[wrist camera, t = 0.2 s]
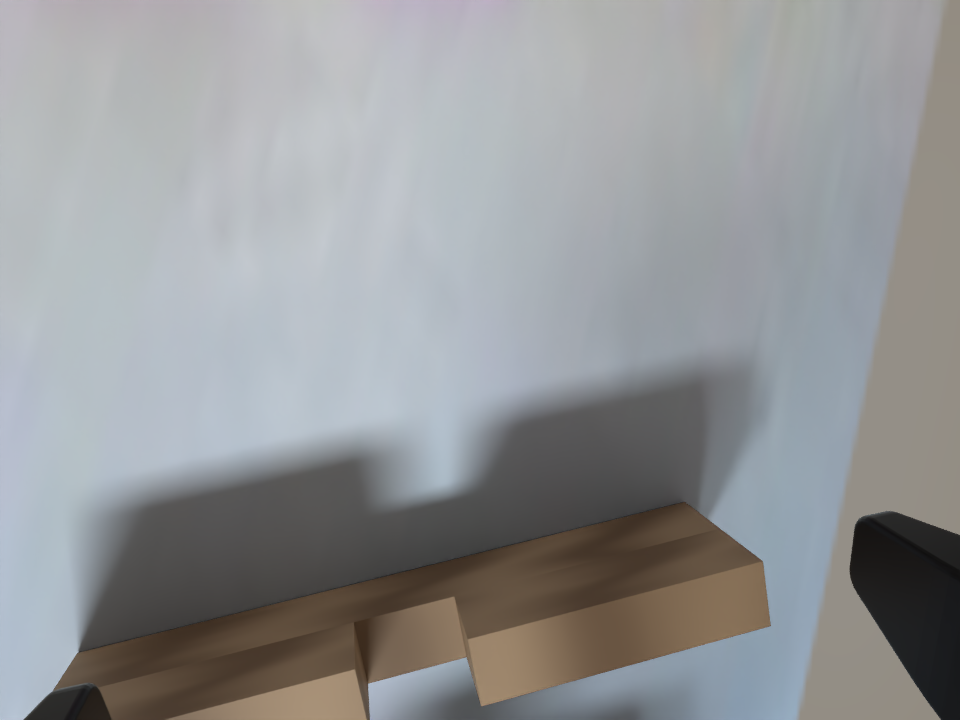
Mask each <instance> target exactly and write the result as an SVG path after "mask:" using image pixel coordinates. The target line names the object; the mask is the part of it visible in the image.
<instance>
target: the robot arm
mask: <svg viewBox="0 0 960 720" xmlns="http://www.w3.org/2000/svg"><path fill="white" fill-rule="evenodd" d="M850 577H851V581H852V584H853V586H854V588H855V590H856V592H857V594H858V595H859V597H860V598H861V600H862V601H863V603H864V604H865V606H866V608H867V609H868V611H869V612H870V614H871V615H872V617H873V619H874V620H875V622H876V623H877V625H878V626H879V628H880V630H881V631H882V633H883V634H884V636H885V637H886V639H887V640H888V642H889V644H890V645H891V647H892V648H893V650H894V651H895V653H896V655H897V656H898V658H899V659H900V661H901V662H902V664H903V665H904V667H905V669H906V670H907V672H908V673H909V675H910V676H911V678H912V679H913V681H914V683H915V684H916V685H917V687H918V688H919V690H920V691H921V693H922V694H923V696H924V697H925V698H926V700H927V701H928V703H929V704H930V705H931V707H932V708H933V709H934V711H935V712H936V713H937V715H938V716H939V718H940V719H941V720H960V535H958V534H955V533H952V532H950V531H947V530H944V529H941V528H938V527H936V526H933V525H930V524H927V523H925V522H922V521H919V520H916V519H913V518H911V517H908V516H905V515H902V514H900V513H897V512H892V511H886V512H881V513H876V514H871V515H867V516H863V517H861V518H860V519H859V520H858V521H857V523H856V524H855V529H854V537H853V546H852V554H851V562H850ZM24 720H112V718H111V716H110V713H109V711H108V708H107V706H106V704H105V701H104V699H103V696H102V694H101V692H100V690H99V688H98V687H97V686H96V685H95V684H93V683H83V684H79V685H74V686H69V687H65V688H60V689H57V690H55V691H53V692H51V693H50V694H49V695H47V696H46V697H45V698H44V699H43V700H42V701H41V702H40V703H39V704H38V705H37V706H36V707H35V709H34V710H33V711H32V712H31V713H30V714H29V715H28V716H27V717H26V718H25V719H24Z"/></svg>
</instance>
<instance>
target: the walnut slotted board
mask: <svg viewBox="0 0 960 720" xmlns="http://www.w3.org/2000/svg"><path fill="white" fill-rule="evenodd" d="M769 626H771V625H770V617H769V608H768V600H767V592H766V583H765V575H764V567H763V561H762V560H760V559H759V558H758V557H756V556H755V555H754V554H753V553H751V552H750V551H749V550H747V549H746V548H745V547H743V546H742V545H741V544H739V543H738V542H737V541H735V540H734V539H733V538H732V537H730V536H729V535H728V534H726V533H725V532H724V531H722V530H721V529H720V528H718V527H717V526H716V525H714V524H713V523H712V522H711V521H709V520H708V519H707V518H705V517H704V516H703V515H701V514H700V513H699V512H697V511H696V510H695V509H693V508H692V507H691V506H690V505H688V504H687V503H686V502H682V503H678V504H674V505H670V506H666V507H662V508H658V509H654V510H650V511H646V512H642V513H638V514H634V515H630V516H626V517H622V518H618V519H614V520H610V521H606V522H602V523H598V524H594V525H590V526H586V527H582V528H578V529H574V530H570V531H566V532H562V533H558V534H554V535H550V536H546V537H542V538H538V539H534V540H530V541H526V542H522V543H518V544H514V545H510V546H506V547H502V548H498V549H494V550H490V551H485V552H481V553H477V554H473V555H469V556H465V557H461V558H457V559H453V560H449V561H445V562H441V563H437V564H433V565H429V566H425V567H421V568H417V569H413V570H409V571H405V572H401V573H397V574H393V575H389V576H385V577H381V578H377V579H373V580H369V581H365V582H361V583H357V584H353V585H349V586H345V587H341V588H337V589H333V590H329V591H325V592H321V593H317V594H313V595H309V596H305V597H301V598H297V599H293V600H288V601H284V602H280V603H276V604H272V605H268V606H264V607H260V608H256V609H252V610H248V611H244V612H240V613H236V614H232V615H228V616H224V617H220V618H216V619H212V620H208V621H204V622H200V623H196V624H192V625H188V626H184V627H180V628H176V629H172V630H168V631H164V632H160V633H156V634H152V635H148V636H144V637H140V638H136V639H132V640H128V641H124V642H120V643H116V644H112V645H108V646H104V647H100V648H96V649H91V650H87V651H83V652H79V653H77V655H76V656H75V658H74V659H73V661H72V662H71V664H70V665H69V667H68V668H67V670H66V671H65V673H64V675H63V676H62V678H61V679H60V681H59V682H58V684H57V685H56V687H55V688H54V690H53V691H55V690H57V689H60V688H65V687H69V686H74V685H79V684H83V683H93V684H95V685H96V686H97V687H98V688H99V690H100V692H101V694H102V696H103V699H104V701H105V704H106V706H107V708H108V711H109V713H110V716H111V718H112V720H370V714H369V696H368V683H372V682H376V681H379V680H383V679H387V678H391V677H394V676H398V675H402V674H405V673H409V672H413V671H417V670H420V669H424V668H428V667H432V666H435V665H439V664H443V663H446V662H450V661H454V660H458V659H461V658H465V657H467V660H468V664H469V667H470V670H471V674H472V677H473V680H474V684H475V687H476V691H477V694H478V697H479V701H480V704H481V706H485V705H489V704H492V703H496V702H499V701H503V700H507V699H510V698H514V697H517V696H521V695H525V694H528V693H532V692H535V691H539V690H542V689H546V688H550V687H553V686H557V685H560V684H564V683H568V682H571V681H575V680H578V679H582V678H586V677H589V676H593V675H596V674H600V673H604V672H607V671H611V670H614V669H618V668H622V667H625V666H629V665H632V664H636V663H639V662H643V661H647V660H650V659H654V658H657V657H661V656H665V655H668V654H672V653H675V652H679V651H683V650H686V649H690V648H693V647H697V646H701V645H704V644H708V643H711V642H715V641H719V640H722V639H726V638H729V637H733V636H736V635H740V634H744V633H747V632H751V631H754V630H758V629H762V628H765V627H769ZM53 691H52V692H53Z"/></svg>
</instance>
